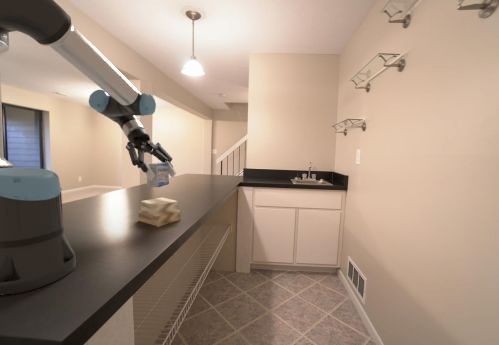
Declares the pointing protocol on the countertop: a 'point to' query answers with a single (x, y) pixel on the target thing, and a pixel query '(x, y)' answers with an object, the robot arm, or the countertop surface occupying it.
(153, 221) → the tower bottom slab
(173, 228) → the countertop surface
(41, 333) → the countertop surface
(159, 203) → the tower top slab
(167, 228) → the countertop surface
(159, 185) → the medicine box
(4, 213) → the robot arm
